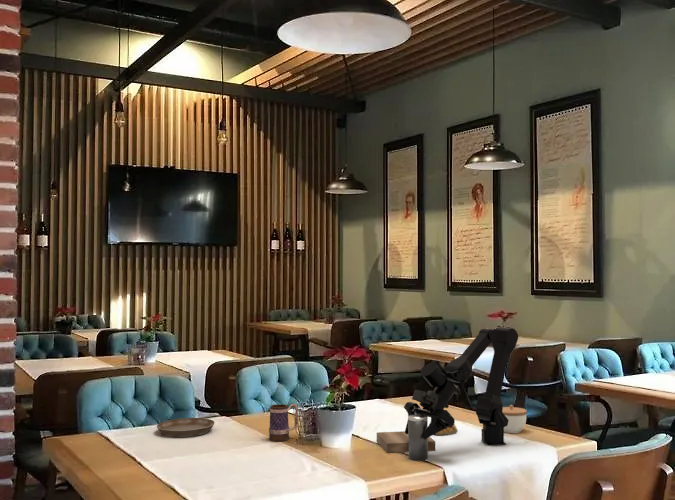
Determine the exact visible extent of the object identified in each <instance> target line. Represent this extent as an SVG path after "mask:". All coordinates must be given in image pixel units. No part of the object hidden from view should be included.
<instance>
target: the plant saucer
mask: <svg viewBox="0 0 675 500" xmlns="http://www.w3.org/2000/svg"><path fill="white" fill-rule="evenodd" d="M215 423H216V422H215V420H214V419H213V420H212V419H210V418H204V417H203V418H202V417H186V418H185V417H184V418H175V419H170V420H169V419H168V420H165V421H162V422H159V423H158V424H156V428H157V430H158V431H159V432H160V434H162V435H163V436H166V437H171V438H191V437H196V436H202V435H205V434H207V433H208V432H210V430H212V428H213V426H215Z"/></svg>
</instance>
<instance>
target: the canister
mask: <svg viewBox="0 0 675 500" xmlns="http://www.w3.org/2000/svg"><path fill="white" fill-rule="evenodd" d="M428 418H429V417H428V416H426V415H420V414H414V415H409V416H408V415H407V421H408V452H407V453H408V458H407V459H409V460H410V461H413V462H414V461H415V462H424V461H427V460H428V458H429V451H428V438H427V439H423V438H422V437H423V435H424V433H425V431H426V429H427V427H428V426H429V423H428V420H429V419H428Z"/></svg>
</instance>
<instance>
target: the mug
mask: <svg viewBox="0 0 675 500" xmlns="http://www.w3.org/2000/svg"><path fill="white" fill-rule="evenodd" d="M291 408H294V412H295V413H294V426H293V427H290V426H289V411H290V410H292V409H291ZM298 409H299V408H298V406H297V404H295V403H292V404H290V405H289V406H288V405H287V404H285V403H284V404H282V403H279V404H278V403H277V404H271V405H270V407H269V428H268V433H269V437H268V438H269V440H270V441H271V442H278V443H280V442H286V441H289V439H290V431H293V430H296V429H297V427H298V412H299V411H298Z"/></svg>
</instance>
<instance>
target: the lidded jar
mask: <svg viewBox="0 0 675 500" xmlns="http://www.w3.org/2000/svg"><path fill="white" fill-rule="evenodd" d="M502 413H503V414H504V415H505V416H506V417H507V419H508V425H507V426H505V427H504V433H507V434H520V433H521V431H522V430H523V429H524V428H525V426H526V423H527V413H528V411H527V409H525V408H522V407H514V406H513V404H510V405H509V406H503V410H502Z"/></svg>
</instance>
